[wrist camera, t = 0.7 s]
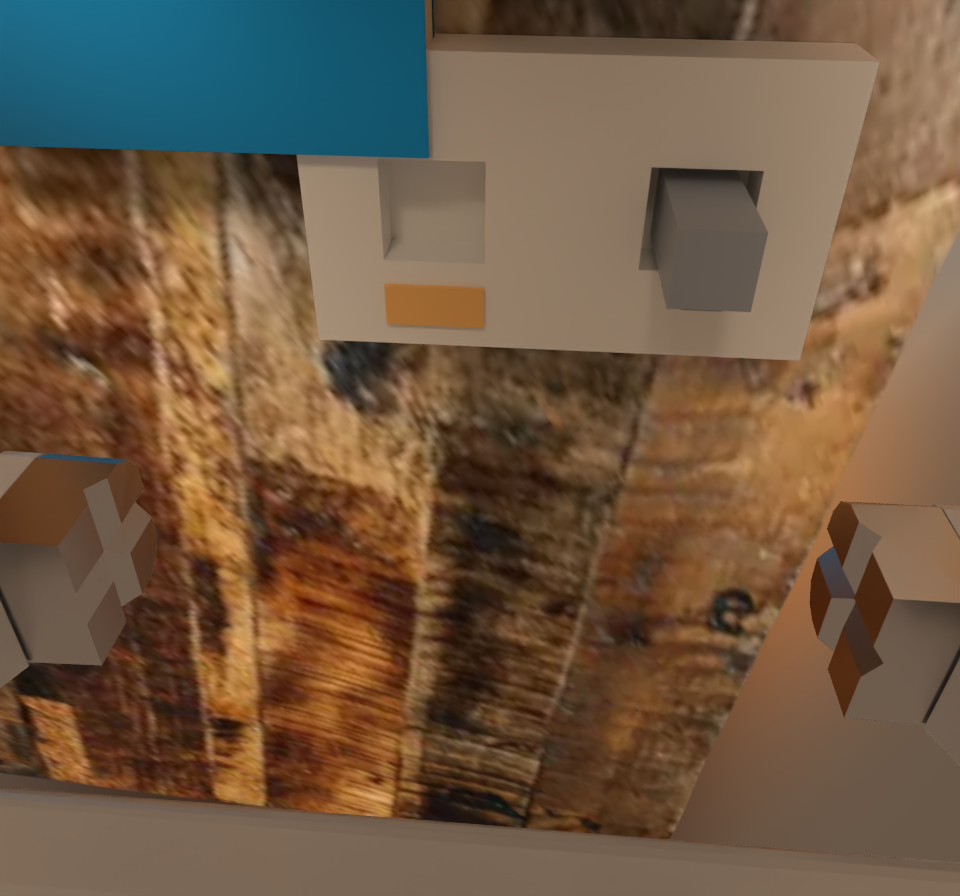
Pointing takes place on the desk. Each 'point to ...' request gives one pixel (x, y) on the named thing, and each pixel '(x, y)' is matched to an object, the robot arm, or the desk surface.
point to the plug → (706, 240)
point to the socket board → (585, 194)
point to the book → (217, 75)
